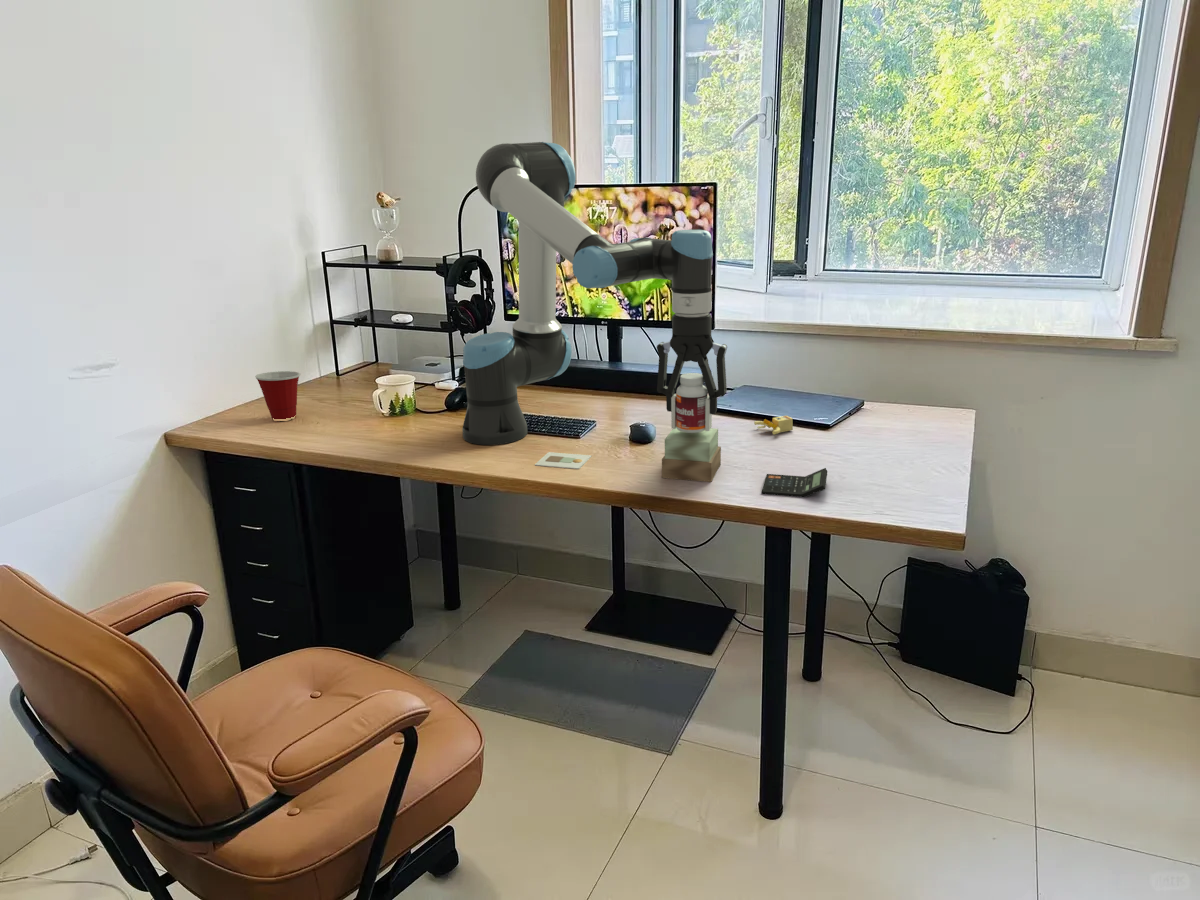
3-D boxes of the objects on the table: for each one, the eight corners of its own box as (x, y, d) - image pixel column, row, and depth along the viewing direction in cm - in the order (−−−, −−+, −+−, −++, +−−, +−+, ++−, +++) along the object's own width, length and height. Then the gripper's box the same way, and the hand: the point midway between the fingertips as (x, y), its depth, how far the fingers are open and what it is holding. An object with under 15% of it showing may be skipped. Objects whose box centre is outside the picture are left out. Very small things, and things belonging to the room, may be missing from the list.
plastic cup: (316, 415, 222) (309, 370, 218) (283, 426, 214) (276, 380, 210) (286, 410, 227) (279, 366, 223) (253, 422, 218) (245, 376, 214)
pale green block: (662, 477, 171) (661, 440, 169) (673, 461, 180) (673, 425, 178) (711, 482, 168) (711, 443, 166) (720, 464, 177) (721, 428, 175)
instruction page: (534, 465, 181) (534, 464, 181) (548, 452, 188) (548, 451, 188) (579, 469, 178) (579, 467, 178) (591, 456, 185) (591, 455, 185)
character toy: (751, 415, 198) (781, 411, 200) (751, 428, 199) (781, 424, 201) (768, 425, 191) (799, 420, 193) (768, 439, 192) (798, 434, 194)
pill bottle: (669, 429, 172) (669, 376, 168) (690, 422, 176) (690, 370, 172) (693, 436, 167) (693, 381, 164) (713, 428, 171) (714, 375, 168)
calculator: (766, 477, 170) (767, 463, 169) (826, 482, 167) (827, 467, 166) (761, 495, 162) (761, 480, 161) (824, 500, 159) (825, 485, 158)
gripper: (638, 315, 163) (640, 430, 171) (738, 318, 157) (736, 437, 165) (648, 308, 170) (650, 419, 178) (744, 310, 164) (742, 425, 172)
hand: (691, 427), depth 171 cm, fingers closed on pill bottle, 6 cm apart
